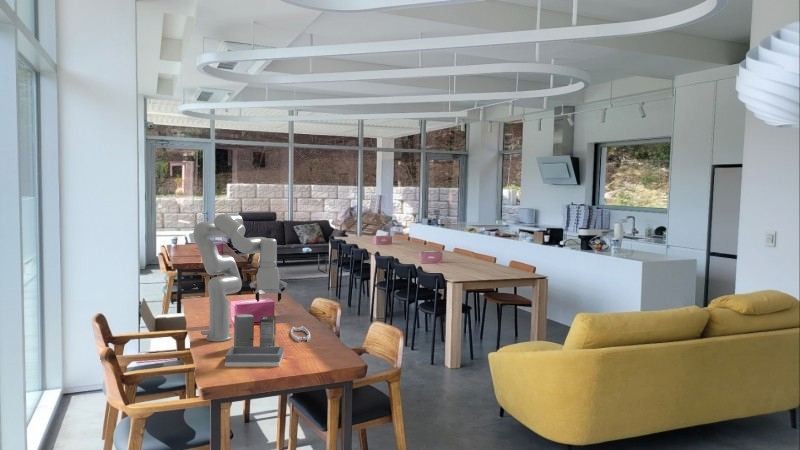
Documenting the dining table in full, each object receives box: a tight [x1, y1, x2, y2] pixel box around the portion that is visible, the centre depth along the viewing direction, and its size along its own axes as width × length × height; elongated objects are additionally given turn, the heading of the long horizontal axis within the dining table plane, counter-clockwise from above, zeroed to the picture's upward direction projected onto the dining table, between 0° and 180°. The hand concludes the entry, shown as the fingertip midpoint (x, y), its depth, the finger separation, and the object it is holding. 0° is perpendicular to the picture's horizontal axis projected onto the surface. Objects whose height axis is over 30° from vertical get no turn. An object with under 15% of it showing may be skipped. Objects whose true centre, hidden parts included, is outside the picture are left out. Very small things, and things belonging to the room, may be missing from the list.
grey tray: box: [224, 345, 284, 368], centre depth 250 cm, size 23×16×4 cm
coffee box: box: [259, 315, 277, 346], centre depth 264 cm, size 9×6×16 cm
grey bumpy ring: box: [289, 325, 311, 343], centre depth 294 cm, size 3×10×25 cm
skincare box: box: [233, 313, 255, 346], centre depth 269 cm, size 8×7×16 cm
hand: (268, 301), depth 263 cm, fingers open, 9 cm apart
